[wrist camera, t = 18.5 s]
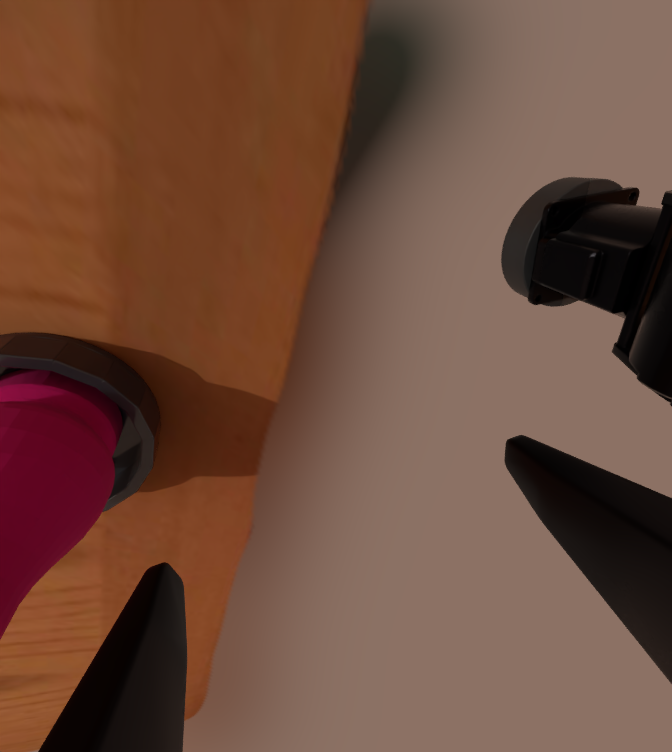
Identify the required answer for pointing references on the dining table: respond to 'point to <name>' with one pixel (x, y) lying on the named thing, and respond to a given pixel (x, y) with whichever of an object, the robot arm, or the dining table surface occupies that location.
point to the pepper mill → (49, 473)
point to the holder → (112, 381)
